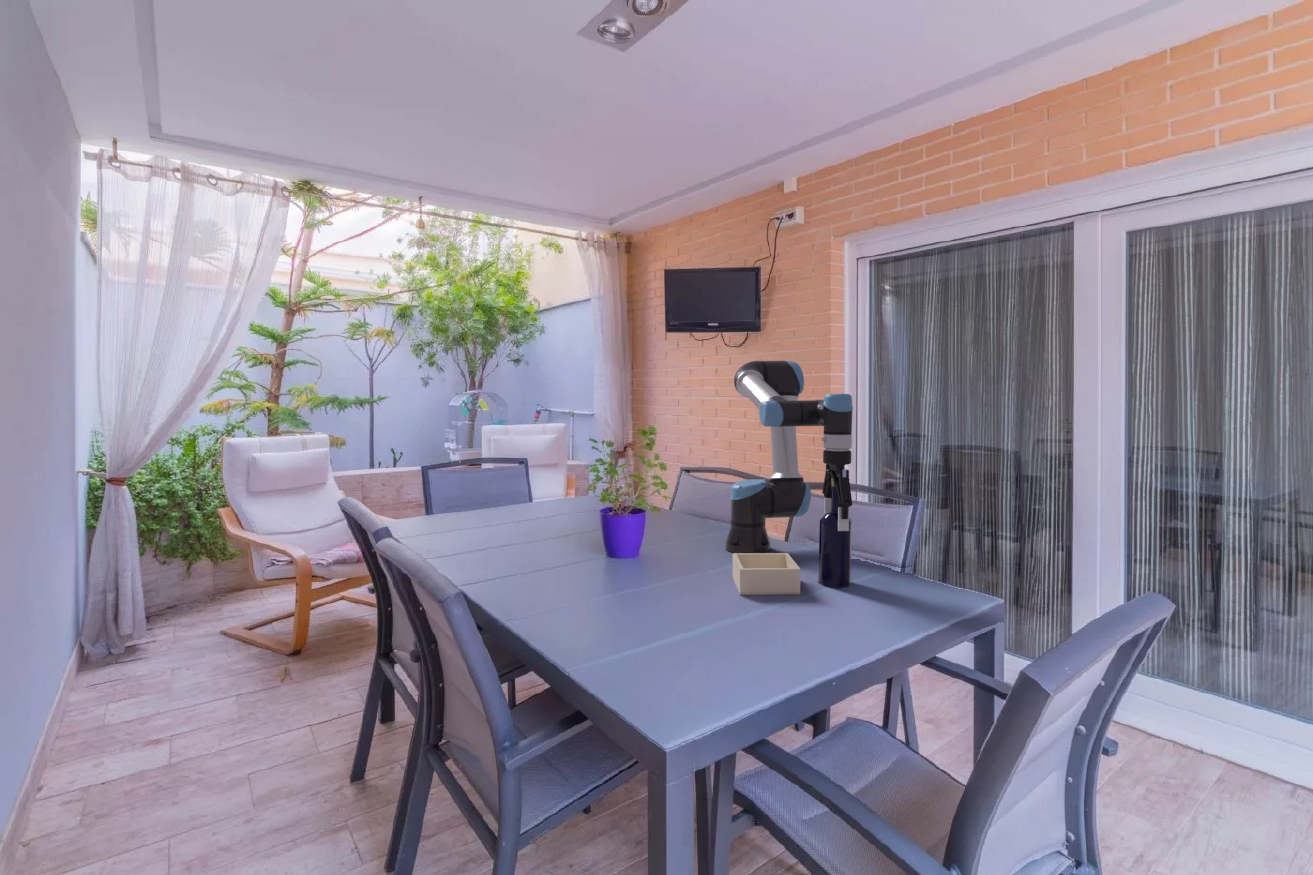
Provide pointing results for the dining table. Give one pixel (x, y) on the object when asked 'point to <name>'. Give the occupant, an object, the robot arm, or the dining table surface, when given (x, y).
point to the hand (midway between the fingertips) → (836, 525)
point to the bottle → (834, 548)
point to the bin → (766, 574)
